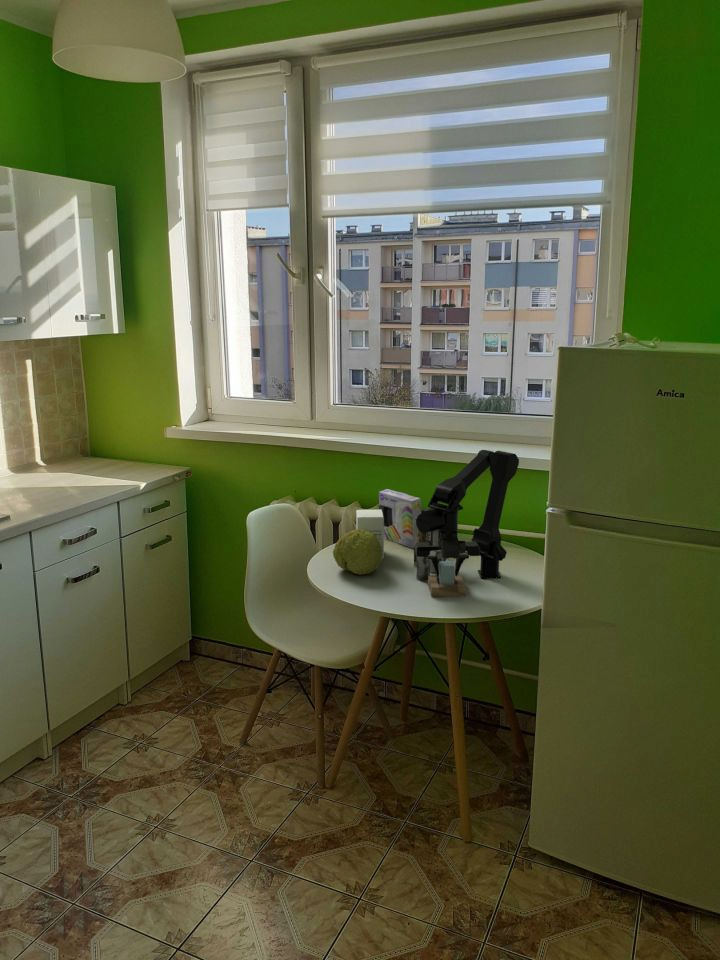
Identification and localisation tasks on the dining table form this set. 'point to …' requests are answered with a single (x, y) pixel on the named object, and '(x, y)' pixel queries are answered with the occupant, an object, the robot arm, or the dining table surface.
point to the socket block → (446, 587)
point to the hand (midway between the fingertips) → (446, 576)
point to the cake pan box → (399, 516)
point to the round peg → (423, 568)
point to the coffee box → (432, 540)
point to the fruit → (358, 552)
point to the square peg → (446, 573)
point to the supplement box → (372, 523)
